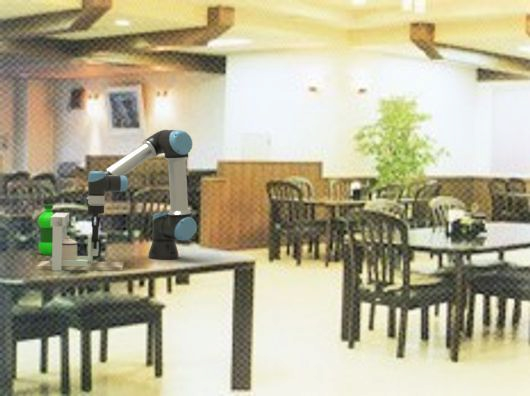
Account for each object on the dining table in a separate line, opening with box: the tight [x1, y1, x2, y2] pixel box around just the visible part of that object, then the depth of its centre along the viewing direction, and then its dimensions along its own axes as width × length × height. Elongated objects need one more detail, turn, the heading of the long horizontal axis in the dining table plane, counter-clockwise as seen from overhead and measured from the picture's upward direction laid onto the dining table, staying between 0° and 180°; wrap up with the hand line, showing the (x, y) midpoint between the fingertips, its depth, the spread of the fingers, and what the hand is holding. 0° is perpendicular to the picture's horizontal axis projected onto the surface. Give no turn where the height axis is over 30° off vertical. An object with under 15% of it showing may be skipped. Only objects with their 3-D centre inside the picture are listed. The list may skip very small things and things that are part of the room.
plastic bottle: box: [37, 204, 55, 256], centre depth 475 cm, size 10×10×25 cm
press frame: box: [51, 212, 70, 272], centre depth 432 cm, size 6×24×24 cm, turn 7°
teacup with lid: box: [62, 235, 79, 261], centre depth 433 cm, size 12×9×12 cm
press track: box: [36, 260, 125, 272], centre depth 434 cm, size 38×17×2 cm, turn 97°
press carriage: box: [49, 232, 94, 267], centre depth 433 cm, size 18×17×14 cm
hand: (94, 255), depth 435 cm, fingers closed
